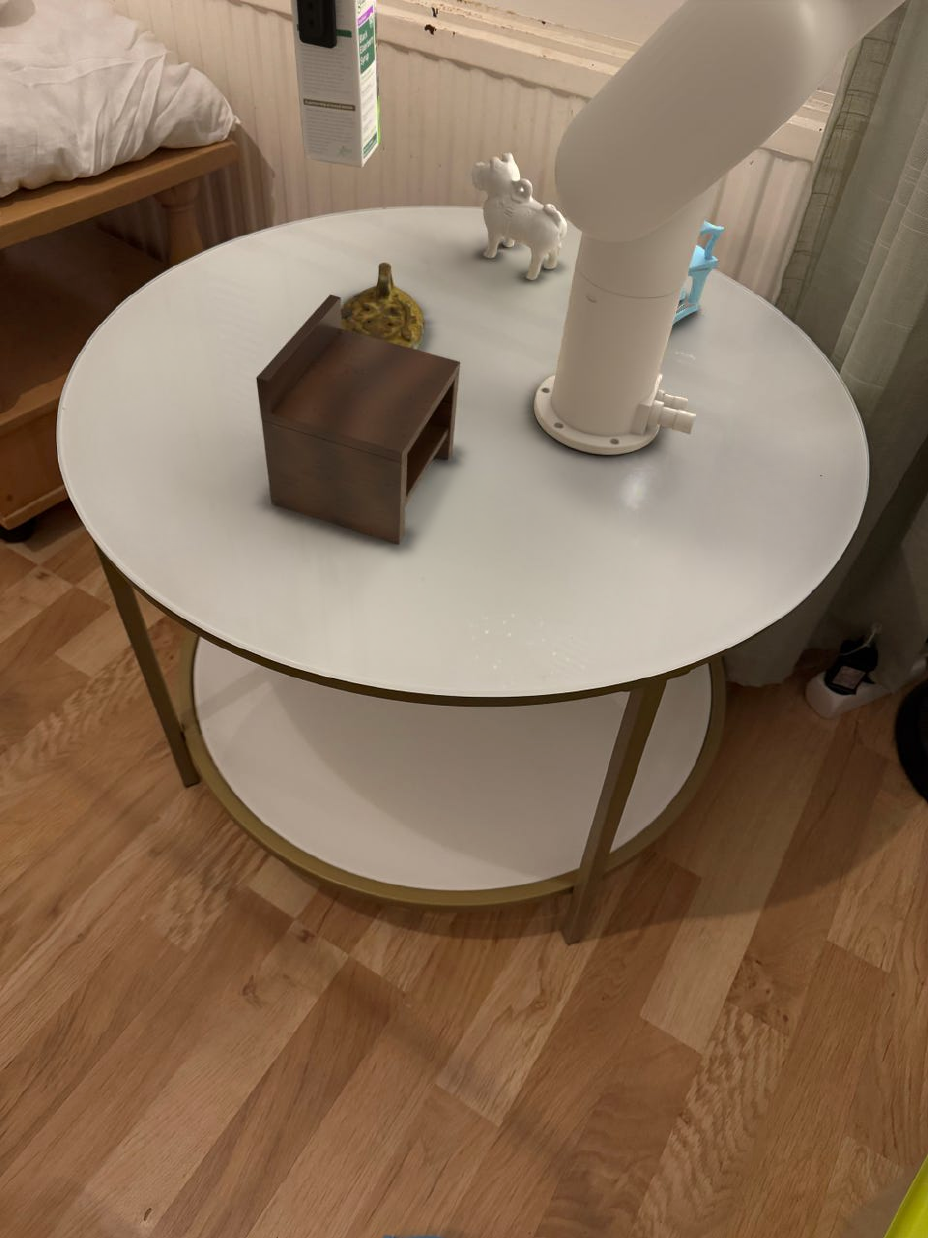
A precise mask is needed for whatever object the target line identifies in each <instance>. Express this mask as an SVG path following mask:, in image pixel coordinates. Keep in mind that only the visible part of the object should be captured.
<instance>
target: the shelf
mask: <svg viewBox="0 0 928 1238" xmlns="http://www.w3.org/2000/svg"><path fill="white" fill-rule="evenodd" d="M341 297H342V296H338V295H335V294H329V295H328V296H327V297H326V298H325V300H324V301H323V302H322V303H321V304H320V305H319V306H318V307H317V308H316V310H315V311H314V312H313V313H312V314H311V315H310V316H309V317H308V319H307V320H306V321H304V323H303V324H302V325H301V326H300V327H299V329H298V330H297V331H296V332H295V333H294V334H293V336H292V337H291V338H290V339H289V340H288V341H287V342H286V343H285V345H284V346H283V347H282V348H281V349H280V350H279V351H278V352H277V353H276V354H275V356H274V357H273V358H272V359H271V360H270V362H268V364H266V366H265V367H264V368H263V369H262V370H261V371H260V373H259V374H258V375H257V376H256V378H255V379H256V388H257V395H258V396H257V397H258V402H259V403H258V404H259V413H260V414H259V415H260V420H261V430H262V438H263V445H264V454H265V455H264V456H265V462H266V471H267V479H268V480H267V481H268V487H269V495H270V496H269V498H270V503H271V505H275V506H278V507H281V508H284V509H287V510H290V511H293V512H297V513H300V514H303V515H306V516H309V517H313V518H316V519H319V520H322V521H325V522H328V523H331V524H335V525H338V526H341V527H344V528H347V529H350V530H353V531H356V532H360V533H363V534H366V535H369V536H372V537H375V538H379V539H382V540H384V541H387V542H391V543H394V544H397V545H400V543H401V542H402V539H403V538H404V537H405V531H406V530H405V529H406V527H405V526H406V506H407V503H408V501H409V500H410V498H411V497H412V495H413V493H414V491H415V490H416V489H417V487H418V485H419V483H420V481H421V480H422V478H423V476H424V475H425V473H426V471H427V470H428V468H429V467H430V465H431V463H432V462H433V460H434V459H435V458H439V459H442V460H444V461H449V459H450V458H451V456H452V454H453V450H454V440H455V439H454V438H455V426H456V415H457V404H458V402H457V401H458V392H459V382H460V381H459V380H460V371H461V361H458V360H455V359H451V358H448V357H444V356H441V355H437V354H434V353H430V352H427V351H422V350H419V349H417V350H416V349H413V348H409V347H405V346H402V345H398V344H395V343H391V342H388V341H384V340H380V339H377V338H373V337H370V336H366V335H363V334H359V333H355V332H352V331H348V330H345V329H342V322H341V309H342V298H341Z"/></svg>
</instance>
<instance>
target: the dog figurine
mask: <svg viewBox="0 0 928 1238" xmlns="http://www.w3.org/2000/svg"><path fill="white" fill-rule="evenodd" d="M471 181H472V185H473V187H474V188H475V189H476V190H478V191H480V192H481V191H482V192H486V194H487V199H486V200H485V201H484V203H483V207H482V211H483V213H482V215H483V221H484V225H485V228H486V229H487V238H488V239H487V246H486V250H485V251H484V252H483V256H484V257H485V258H487V259H493V258H495V257H496V255H497V253H498V252H499V251H498V246H499V244H500V243H501V240H502V238H503V237H504V239H503V242H502V246H504V247H506V248H511V247H514V246H515V242H517V243H519V244H521V245H524V246H526V247H527V248H528V249H530V253H531V257H530V258H531V259H530V264H529V268H528V271H527V273H526V274H525V279H527V280H529V281H534V280H536V279H537V278H538V276H539V274H540V271H541V268H542V266H543V268H544V269H546V270H553V269H555V268H556V267H557V264H558V260H559V254H560V251H561V249H562V241H563V240H564V238H565V237H566V234H567V231H568V224H567V221H566V219H565V218H564V216H563V215H562V213H561V212H560V211H559V210H557V208H556V207H555V206H554V205H553V204H551V203H546V204H545V205H543V204H541V203H540V202H538V201H537V200H535V198H533V197H532V194H533V186H532V183H531V182H530V181H529V179H527V178H524V177H523V178H521V175H520V170H519V168H518V165H517V164H516V163H515V160H514V156H513V155H512V153H511V152H505V153H503V154H501V160H500V159H499V157H498V156H492V157H491V158H490V159H489V163H484V162H482V161H478V162H476V163H474V165H473V168H472V171H471ZM547 254H548V259H547V261H546V262H545V263H544V264H543V262H544V261H545V257H546V256H547ZM542 264H543V265H542Z"/></svg>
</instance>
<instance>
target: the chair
mask: <svg viewBox="0 0 928 1238" xmlns="http://www.w3.org/2000/svg"><path fill="white" fill-rule="evenodd" d="M724 231H725V227H724V226H717V225H714V224H712V223H711V222H709V221H706V220H704V223H703V226H702V229H701V232H700V235H699V237H700V236H701V237H702V236H707V235H708V236H712V237H711V239H710V240H709V241H708V242H707V243H706V245H705V247H704V248H703V247H702V246H700V245H699V244H698V243H697V244H696V248H695V251H694V254H693V258H692V261H691V264H690V268H689V271H688V275H687V277H691V278H692V284H691V288H690V292H689V297H688V300H687V302H689V303H692V304H693V303H694V304H695V303H698V302H699V303H698V304H696V305H694V306H691V307H688V308H686V309H684V310H682V311H680V312H679V313H677V314H676V315H675V318H674V322H673V325H674V324H676V323H678V322H679V321H680V320H682V319H683V318H685V317H686V316H687V317H688V316H689V315H690V314H692V313H694V312H696V311H698V309H699V304H700V300H701V296H702V293H703V289H704V286H705V284H706V280H707V278H708V276H709V274H710V273H711V271H712V270H713V269H717V267H718V264H719V259H718V258H717V257H715V256H714V255H713V251H714V247H715V246H716V244H717V242H718V241H719V240H720V238H721V236H722V235H723V233H724ZM685 290H686V286H685V285H684V287H683V290H682V292H683V291H685ZM685 296H686V292H685V293H682V294H681V297H680V301H682V300H684V299H685V298H686V297H685ZM684 304H685V303H683V304H682V305H680V306H678V308H677V310H678V309H679V308H680V307H681V306H683V305H684Z"/></svg>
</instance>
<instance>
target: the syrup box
mask: <svg viewBox="0 0 928 1238" xmlns="http://www.w3.org/2000/svg"><path fill="white" fill-rule="evenodd" d="M335 4H336V28H337V45H336V46H335V47H334V48H332V49H329V48H325V47H320V46H315V45H310V44H306V43H303V42H301V40H300V38H299V26H298V12H297V0H290V10H291V22H292V34H293V45H294V56H295V69H296V79H297V90H298V101H299V109H300V110H299V111H300V112H299V113H300V125H301V134H302V135H301V136H302V146H303V155H304V158H305V159H307V160H311V161H316V162H321V163H327V164H330V165H331V164H332V165H339V166H345V167H353V168H359V169H363V168H364V166H365V164H366V163H367V161H368V160H369V159H370V157H371V156H372V155H373V153H374V152H375V150H376V149H377V148H378V146H379V145H380V143H381V119H380V118H381V116H380V115H381V114H380V113H381V111H380V81H379V79H380V78H379V77H380V76H379V43H378V42H379V41H378V40H379V39H378V9H377V6H378V5H377V0H335Z"/></svg>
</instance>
